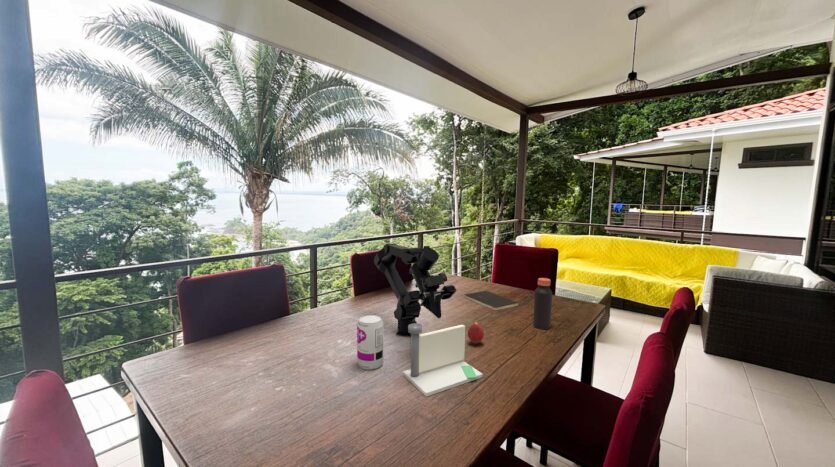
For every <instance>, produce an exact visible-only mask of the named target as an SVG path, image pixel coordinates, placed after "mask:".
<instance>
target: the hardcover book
mask: <svg viewBox="0 0 835 467" xmlns="http://www.w3.org/2000/svg"><path fill="white" fill-rule="evenodd" d="M464 298H465V299H466V300H470V301H472V302H475V304H476V303H477V304H479V305H480V306H483V307H485V308H488V309H490V310H492V311H500V310H503V309H509V308H513V307H517V306H518V307H519V306H520V302H519V301H516V300H513V299H510V298H508V297H506V296H504V295H503V296H502V295H500V294H498V293H494V292H492V291H489V290H482V291H476V292H472V293H466V294H465V293H464Z"/></svg>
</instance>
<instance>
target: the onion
mask: <svg viewBox="0 0 835 467" xmlns="http://www.w3.org/2000/svg"><path fill="white" fill-rule="evenodd" d="M467 337H468V339H469V341H471V343H473V344H475V345H476V344H478V343H480V342H481V341H483V339H484V337H485V332H484V330H483V328H482V326H480V325H479V323H478V322H477V321H475V322H474V324H473V325H471V326H470V327H469V328H468V330H467Z"/></svg>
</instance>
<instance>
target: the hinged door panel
mask: <svg viewBox="0 0 835 467" xmlns="http://www.w3.org/2000/svg"><path fill="white" fill-rule="evenodd" d="M408 332H409V333H411V337H410V369H411V376H412V377H417V376H418V375H419V373H420V372H423V371H427V370H430V369H433V368H436V367H440V366H443V365H446V364H450V363H453V362H456V361H460V360H463V361H464V360H465V352H466V351H465V348H466V347H465V346H466V344H465V343H466V325H465V324H458V325H455V326H450V327H446V328H442V329H438V330H437V329H436V330H433V331H429V332H425V333H422V332H423V325H422V324H420V323H418V322H417V323H413V324H409V325H408Z"/></svg>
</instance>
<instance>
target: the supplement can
mask: <svg viewBox="0 0 835 467" xmlns="http://www.w3.org/2000/svg"><path fill="white" fill-rule="evenodd" d="M356 346H357V347H356V353H357V355H356V358H357V362H356V363H357V365H358V367H360V368H361V369H362V370H366V371H367V370H368V371H371V370H376V369H378V368H380V367H381V366H382V365H383V364H384V321H383V319H382V317H381V316H379V315H375V314H368V315H362V316H360V317H359V318H358V321H357V323H356Z"/></svg>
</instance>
